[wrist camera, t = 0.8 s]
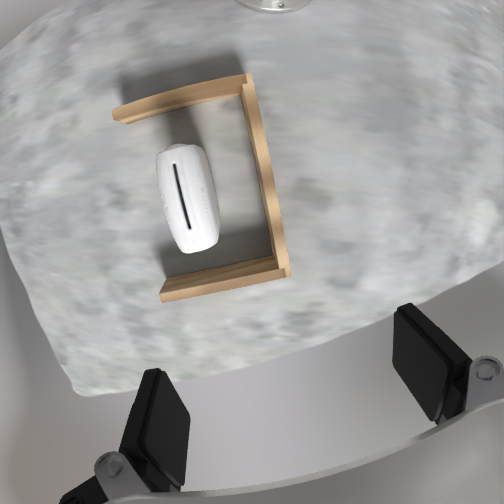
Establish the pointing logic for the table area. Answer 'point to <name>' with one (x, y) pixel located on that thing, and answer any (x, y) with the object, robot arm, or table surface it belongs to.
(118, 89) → the table surface
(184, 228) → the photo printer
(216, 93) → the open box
